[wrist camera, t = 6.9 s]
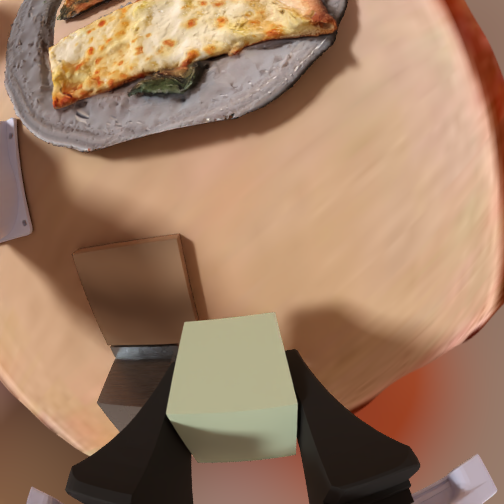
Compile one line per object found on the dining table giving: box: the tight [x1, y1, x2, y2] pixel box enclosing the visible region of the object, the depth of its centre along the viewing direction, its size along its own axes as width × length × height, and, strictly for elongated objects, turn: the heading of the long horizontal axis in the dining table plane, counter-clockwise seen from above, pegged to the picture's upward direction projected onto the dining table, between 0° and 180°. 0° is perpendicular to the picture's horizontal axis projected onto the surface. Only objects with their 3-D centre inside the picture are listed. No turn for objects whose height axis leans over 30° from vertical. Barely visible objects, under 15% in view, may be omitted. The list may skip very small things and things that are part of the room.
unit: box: [97, 343, 180, 432], centre depth 18 cm, size 7×6×6 cm
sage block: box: [166, 312, 298, 463], centre depth 10 cm, size 4×4×5 cm
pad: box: [72, 234, 199, 345], centre depth 18 cm, size 8×8×1 cm
